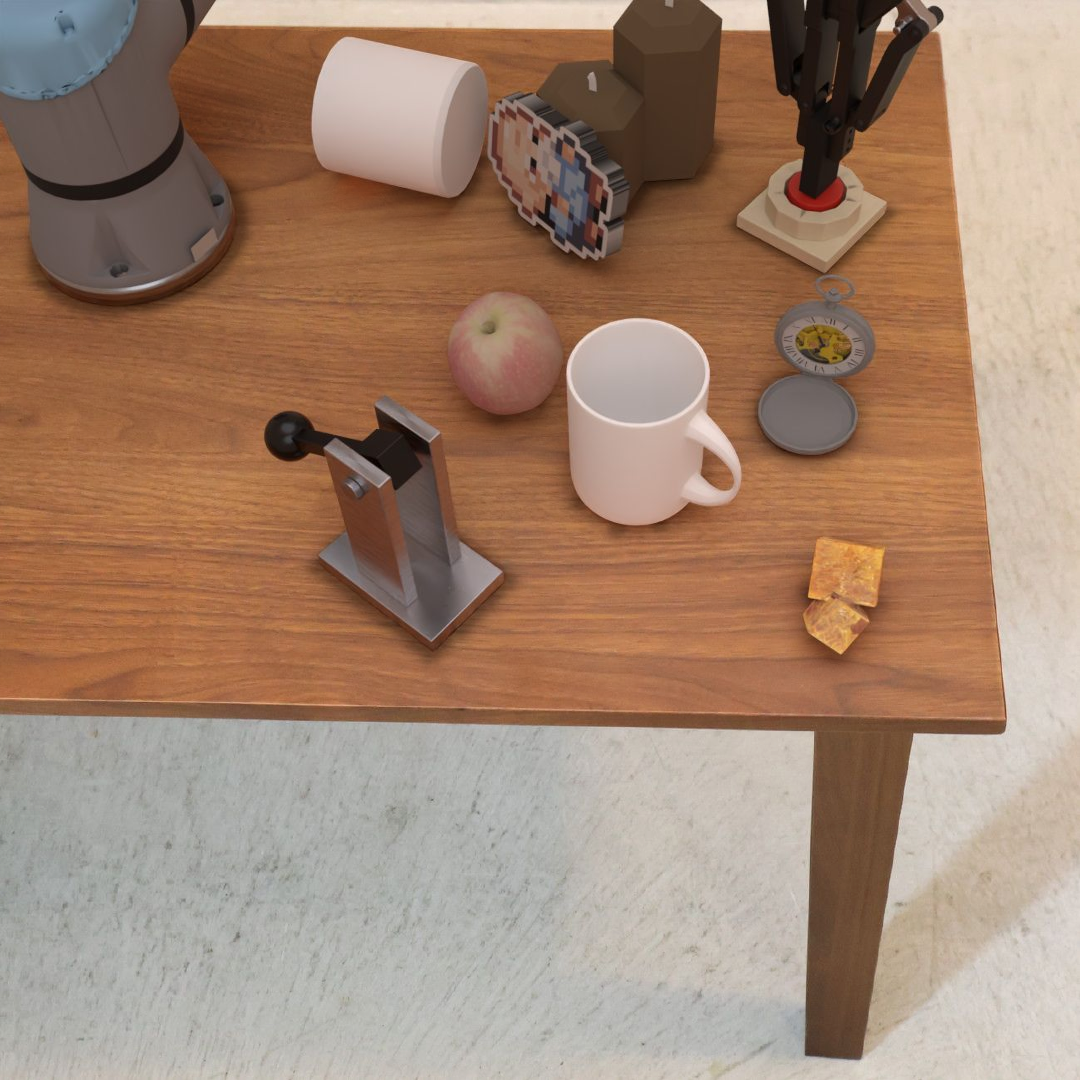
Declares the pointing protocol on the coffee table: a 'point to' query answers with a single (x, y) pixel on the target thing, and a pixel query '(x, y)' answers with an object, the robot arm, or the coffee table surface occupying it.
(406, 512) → the bracket
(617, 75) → the candle
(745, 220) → the housing
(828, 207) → the button
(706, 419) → the mug
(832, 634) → the pyrite
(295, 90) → the coffee table surface
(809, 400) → the pocket watch
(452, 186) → the white cylinder
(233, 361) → the coffee table surface
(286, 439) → the lever
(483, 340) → the apple
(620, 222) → the toy
